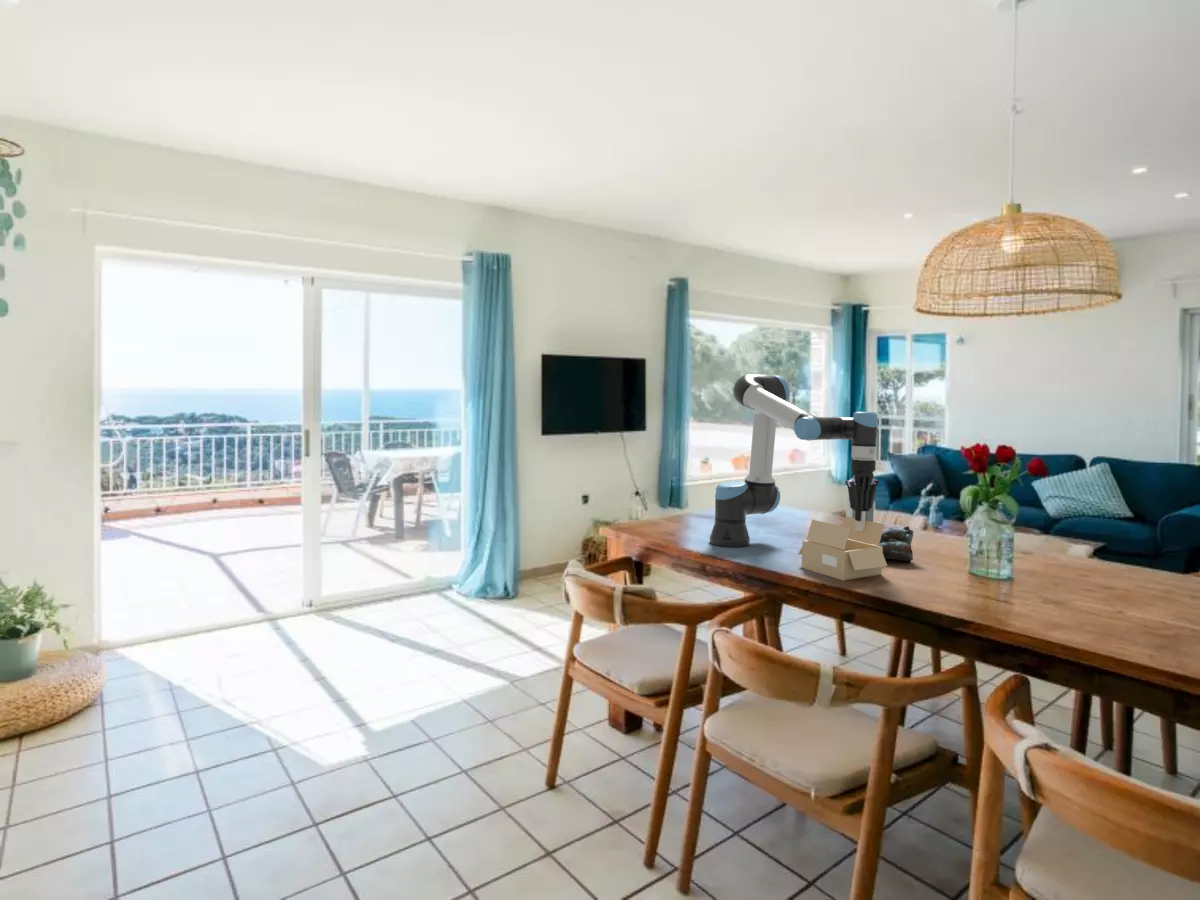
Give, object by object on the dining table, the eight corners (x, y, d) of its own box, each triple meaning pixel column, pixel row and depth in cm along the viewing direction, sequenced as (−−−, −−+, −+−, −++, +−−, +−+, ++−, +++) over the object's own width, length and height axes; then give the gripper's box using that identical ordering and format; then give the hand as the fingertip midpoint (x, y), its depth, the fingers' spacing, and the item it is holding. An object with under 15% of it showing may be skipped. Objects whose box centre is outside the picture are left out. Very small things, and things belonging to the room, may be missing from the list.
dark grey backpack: (861, 558, 248) (866, 521, 253) (885, 569, 253) (889, 532, 258) (897, 554, 235) (900, 515, 240) (921, 565, 240) (924, 527, 245)
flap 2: (877, 545, 225) (878, 545, 225) (883, 524, 226) (884, 524, 226) (839, 536, 239) (840, 536, 239) (845, 516, 240) (846, 516, 240)
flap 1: (807, 540, 232) (806, 539, 232) (812, 519, 233) (812, 519, 232) (844, 549, 218) (843, 549, 218) (850, 528, 219) (849, 527, 218)
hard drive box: (872, 554, 255) (874, 499, 254) (850, 552, 257) (852, 498, 255) (865, 545, 270) (867, 493, 269) (844, 544, 272) (846, 492, 270)
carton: (794, 565, 236) (795, 538, 235) (831, 560, 244) (832, 534, 243) (851, 583, 215) (852, 554, 214) (890, 577, 222) (891, 549, 222)
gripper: (858, 460, 224) (854, 533, 226) (886, 459, 230) (883, 531, 232) (840, 458, 231) (837, 529, 232) (868, 457, 237) (864, 527, 238)
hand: (860, 530), depth 232 cm, fingers closed
